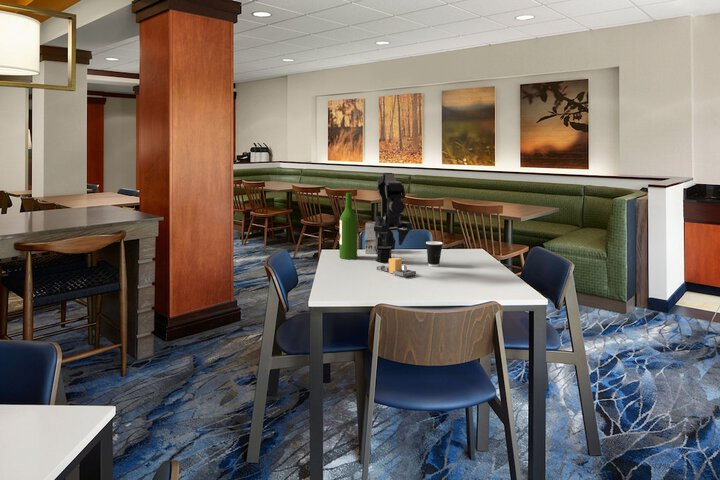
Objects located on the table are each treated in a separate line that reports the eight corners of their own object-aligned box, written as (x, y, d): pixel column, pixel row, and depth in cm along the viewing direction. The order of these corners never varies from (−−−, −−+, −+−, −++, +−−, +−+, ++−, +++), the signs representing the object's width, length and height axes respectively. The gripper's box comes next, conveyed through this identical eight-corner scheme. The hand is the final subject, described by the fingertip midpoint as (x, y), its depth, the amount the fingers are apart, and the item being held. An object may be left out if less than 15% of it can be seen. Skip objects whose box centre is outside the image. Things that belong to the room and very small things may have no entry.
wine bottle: (337, 256, 264) (338, 192, 259) (354, 255, 266) (355, 192, 261) (341, 259, 256) (341, 193, 250) (359, 259, 258) (359, 193, 252)
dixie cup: (439, 267, 240) (440, 244, 238) (423, 266, 243) (423, 243, 241) (443, 264, 247) (444, 242, 245) (427, 263, 250) (428, 240, 248)
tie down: (372, 270, 234) (372, 256, 233) (383, 268, 238) (383, 255, 237) (404, 276, 219) (404, 262, 218) (415, 273, 223) (415, 260, 222)
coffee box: (376, 253, 272) (377, 223, 269) (364, 253, 273) (365, 223, 270) (379, 250, 281) (380, 221, 278) (367, 250, 282) (368, 220, 279)
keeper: (404, 273, 228) (404, 263, 227) (414, 275, 223) (414, 265, 223) (394, 275, 224) (394, 264, 223) (404, 277, 219) (404, 267, 219)
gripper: (395, 207, 237) (394, 241, 240) (365, 210, 225) (364, 246, 228) (413, 210, 229) (412, 245, 232) (383, 213, 217) (382, 250, 220)
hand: (392, 246), depth 228 cm, fingers open, 9 cm apart
